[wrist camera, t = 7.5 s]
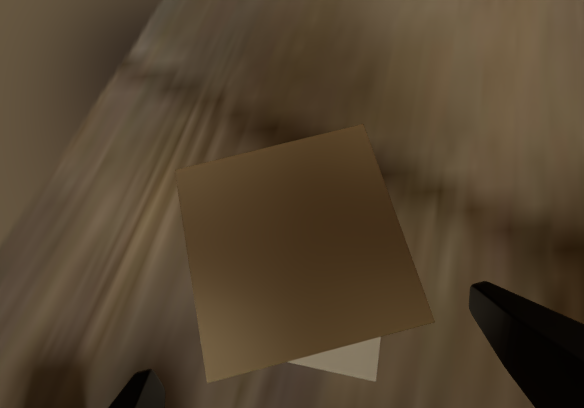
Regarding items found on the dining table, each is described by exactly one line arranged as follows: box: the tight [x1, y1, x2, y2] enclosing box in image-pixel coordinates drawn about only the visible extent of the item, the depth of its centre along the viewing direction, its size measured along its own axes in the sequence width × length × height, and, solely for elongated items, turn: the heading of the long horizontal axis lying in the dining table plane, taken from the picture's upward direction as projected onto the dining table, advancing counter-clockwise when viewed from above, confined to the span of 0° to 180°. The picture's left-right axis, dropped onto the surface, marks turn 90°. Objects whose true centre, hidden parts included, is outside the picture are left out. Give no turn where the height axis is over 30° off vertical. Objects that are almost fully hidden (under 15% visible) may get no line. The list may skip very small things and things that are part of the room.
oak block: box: [175, 124, 435, 383], centre depth 13 cm, size 4×4×13 cm
